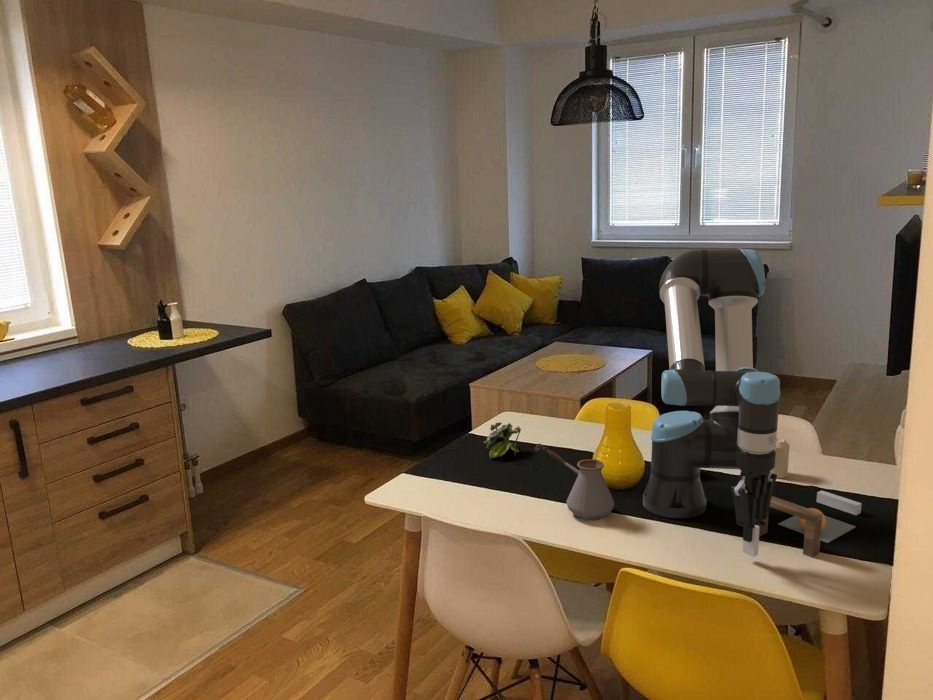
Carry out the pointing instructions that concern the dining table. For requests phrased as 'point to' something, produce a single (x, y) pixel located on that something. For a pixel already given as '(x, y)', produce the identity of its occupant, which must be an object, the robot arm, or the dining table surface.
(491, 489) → the dining table surface
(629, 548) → the dining table surface
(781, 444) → the candle
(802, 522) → the ball
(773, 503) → the bridge
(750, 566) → the dining table surface
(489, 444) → the green leafy plant
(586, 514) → the coffee pot
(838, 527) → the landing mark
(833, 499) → the wall
